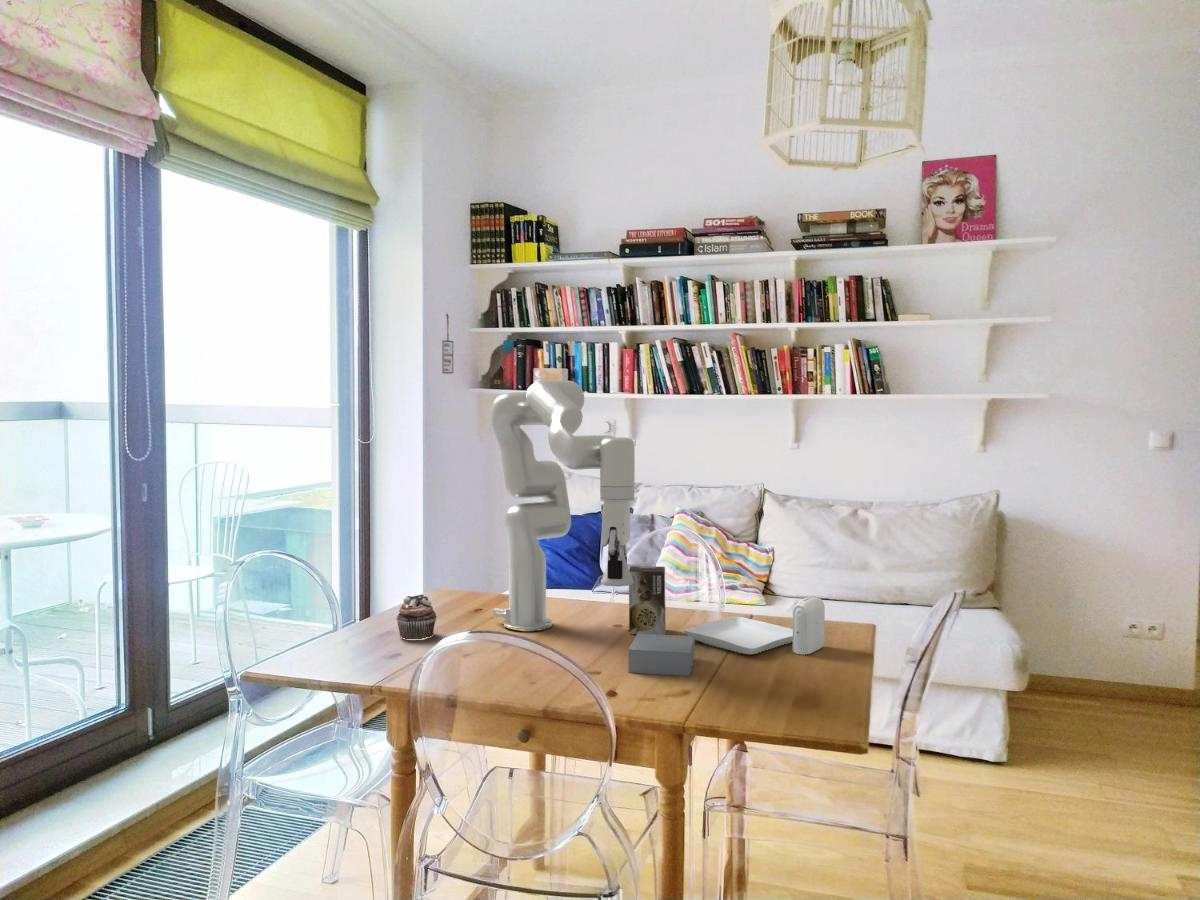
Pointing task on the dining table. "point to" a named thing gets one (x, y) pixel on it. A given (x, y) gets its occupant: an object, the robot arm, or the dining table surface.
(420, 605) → the cupcake
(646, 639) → the slate block
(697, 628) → the salad plate
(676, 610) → the dining table surface
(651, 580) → the coffee box
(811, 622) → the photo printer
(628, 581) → the flask
